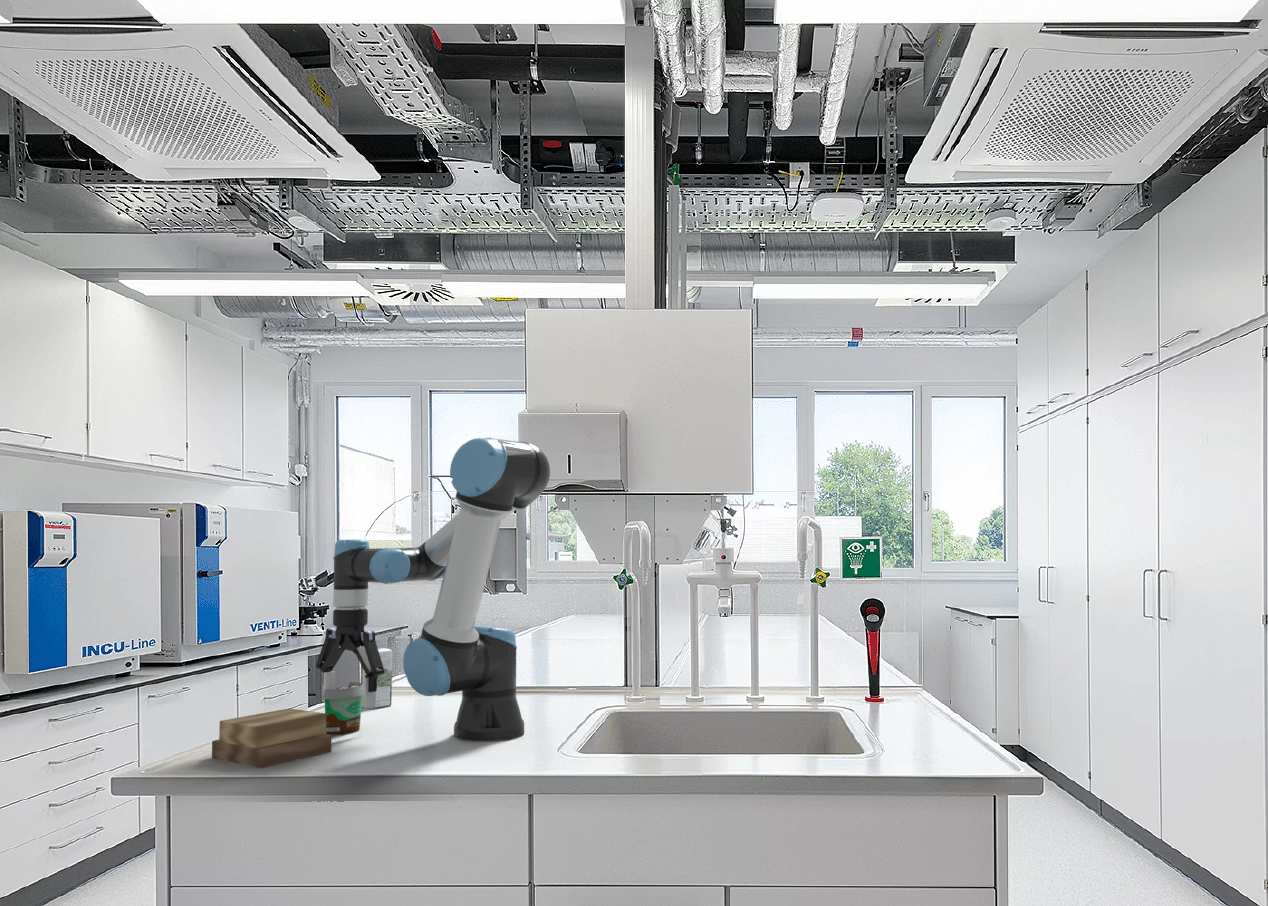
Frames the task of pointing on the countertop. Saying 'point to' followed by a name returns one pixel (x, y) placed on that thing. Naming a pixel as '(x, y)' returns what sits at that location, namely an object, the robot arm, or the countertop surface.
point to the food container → (343, 709)
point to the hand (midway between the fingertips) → (348, 704)
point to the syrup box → (382, 680)
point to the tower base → (272, 751)
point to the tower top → (272, 727)
